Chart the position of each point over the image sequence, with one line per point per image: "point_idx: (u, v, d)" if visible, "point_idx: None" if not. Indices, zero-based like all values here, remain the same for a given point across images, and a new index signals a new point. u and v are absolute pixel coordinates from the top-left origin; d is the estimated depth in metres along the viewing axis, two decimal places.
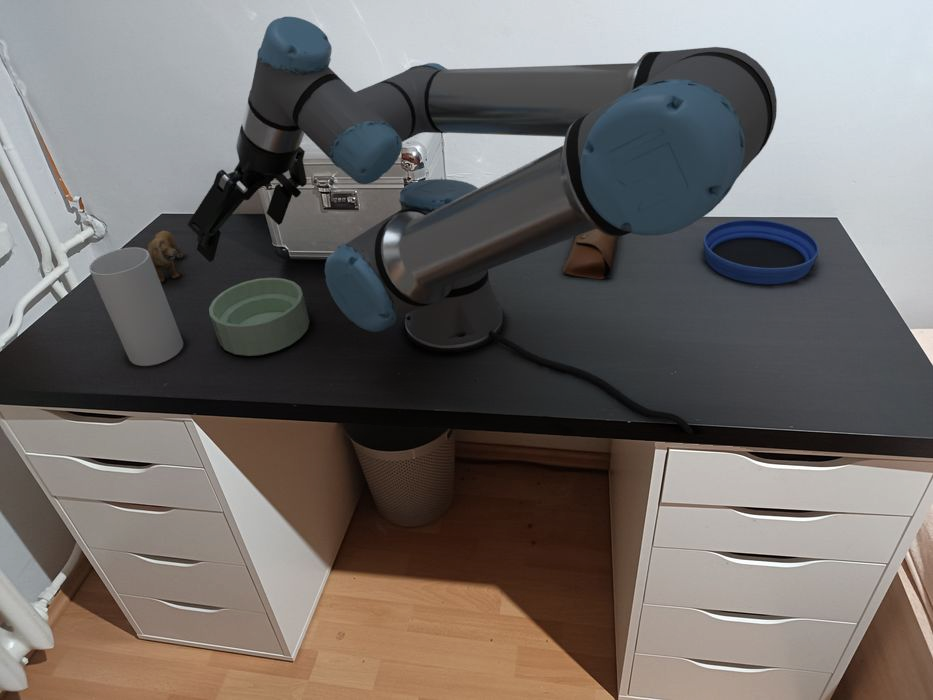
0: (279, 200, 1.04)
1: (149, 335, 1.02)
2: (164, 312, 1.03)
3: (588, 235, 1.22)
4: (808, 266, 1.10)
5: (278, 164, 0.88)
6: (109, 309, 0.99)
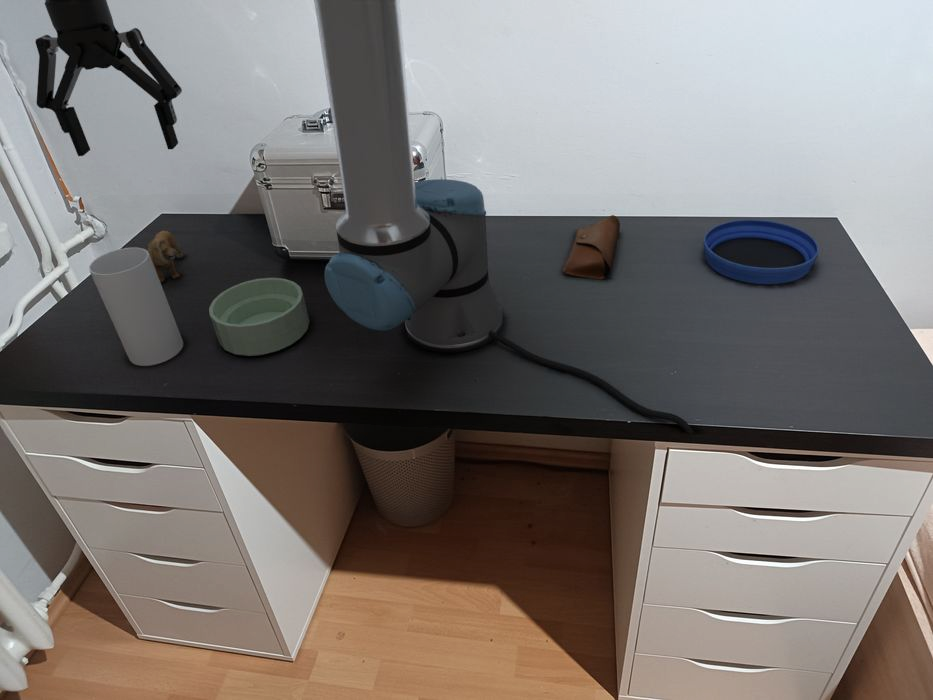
0: None
1: (149, 335, 1.02)
2: (164, 312, 1.03)
3: (588, 235, 1.22)
4: (808, 266, 1.10)
5: (54, 12, 0.90)
6: (109, 309, 0.99)
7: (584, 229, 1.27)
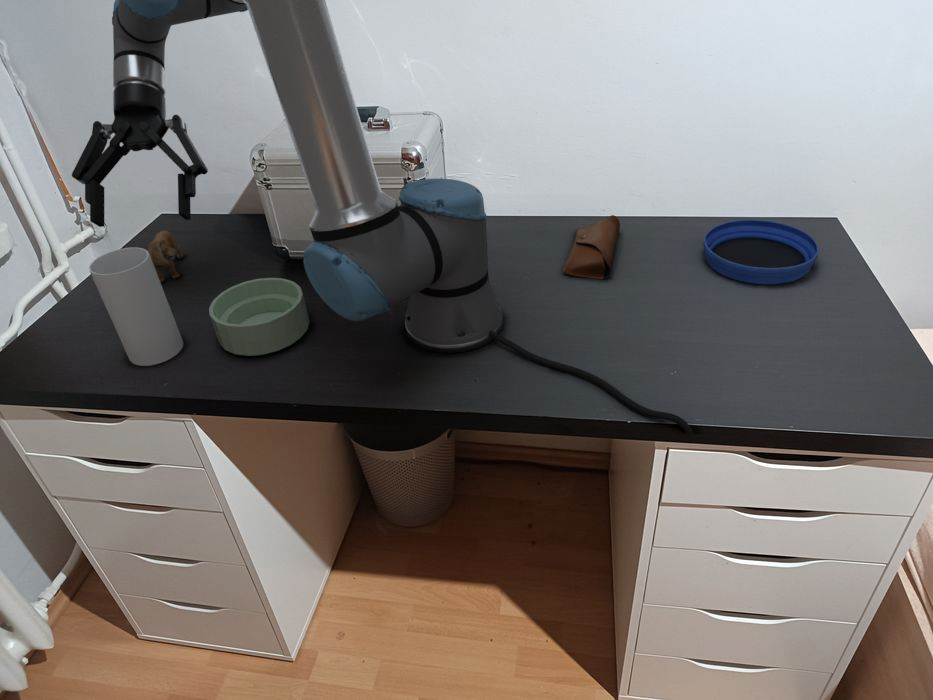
0: None
1: (149, 335, 1.02)
2: (164, 312, 1.03)
3: (588, 235, 1.22)
4: (808, 266, 1.10)
5: (118, 91, 1.05)
6: (109, 309, 0.99)
7: (584, 229, 1.27)
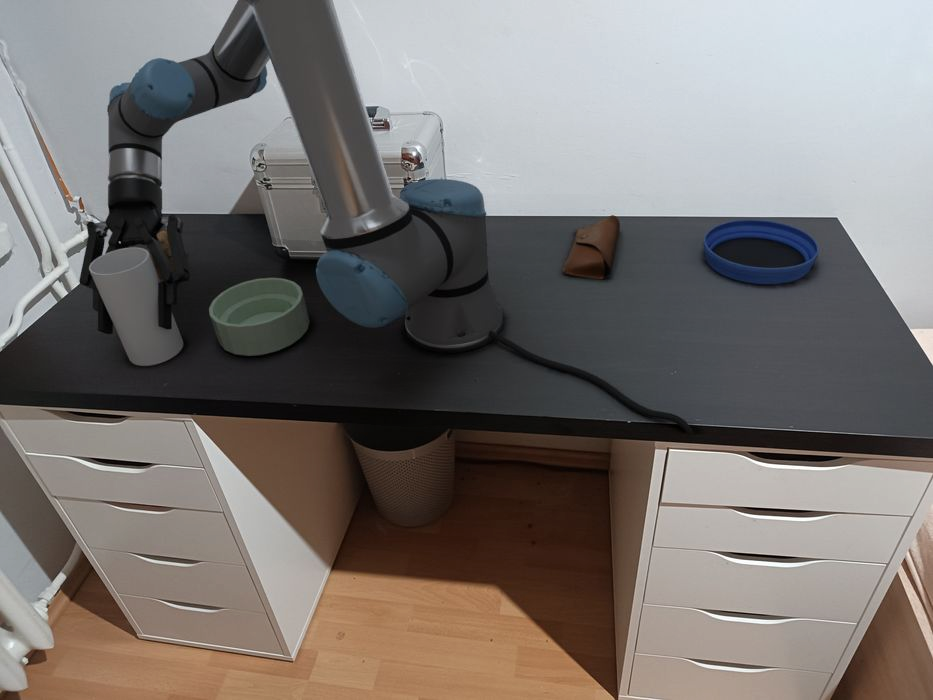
0: None
1: (149, 335, 1.02)
2: None
3: (588, 235, 1.22)
4: (808, 266, 1.10)
5: (113, 187, 1.01)
6: (109, 309, 0.99)
7: (584, 229, 1.27)
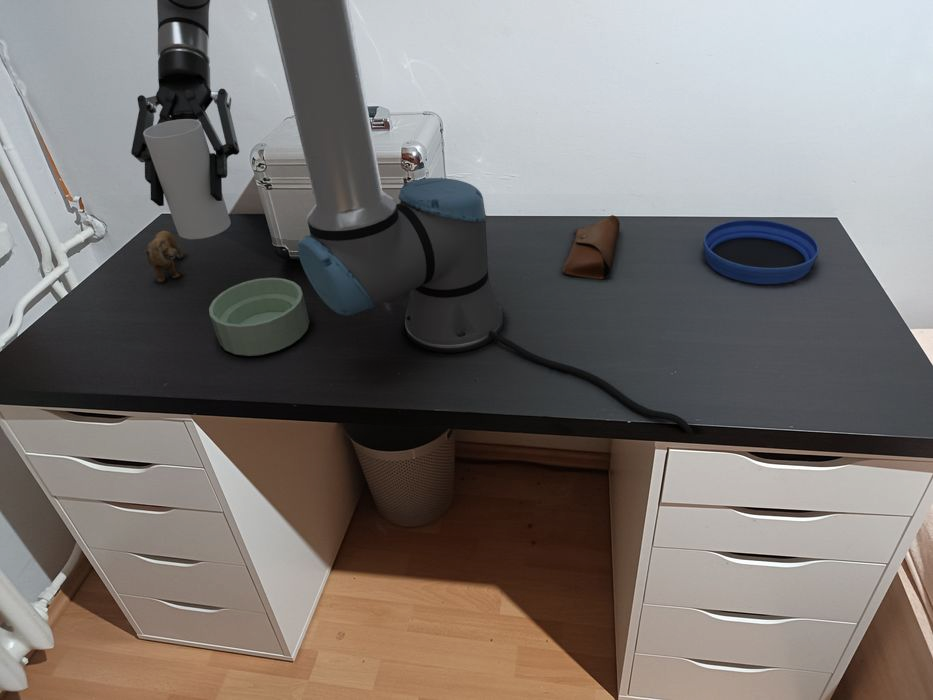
0: None
1: (200, 205, 1.03)
2: None
3: (588, 235, 1.22)
4: (808, 266, 1.10)
5: (164, 59, 1.03)
6: (162, 177, 1.01)
7: (584, 229, 1.27)
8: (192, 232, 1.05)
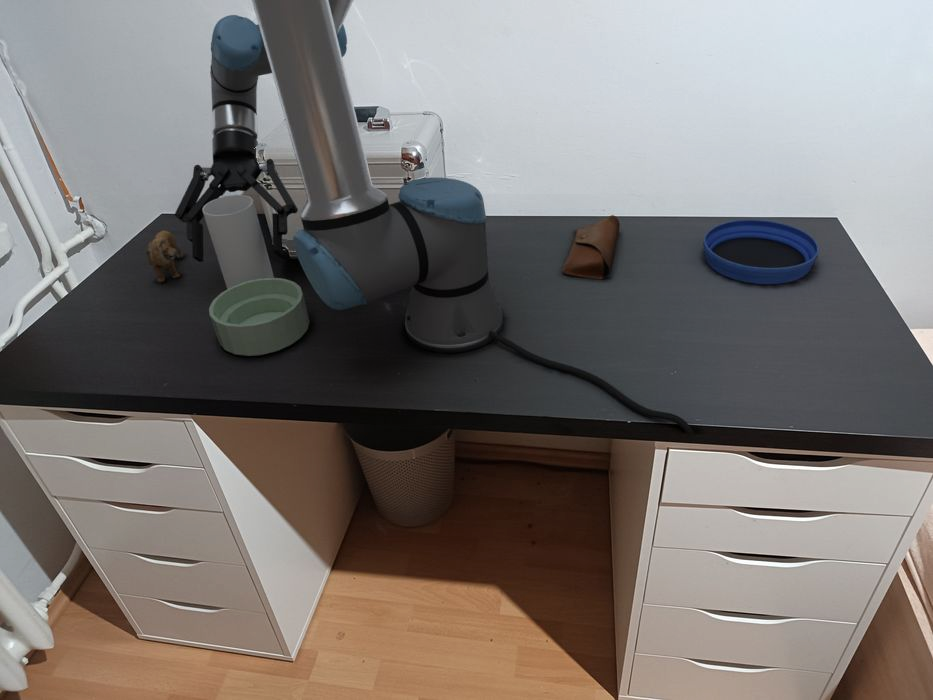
0: None
1: (251, 272, 1.16)
2: (263, 252, 1.17)
3: (587, 235, 1.22)
4: (808, 266, 1.10)
5: (218, 138, 1.15)
6: (218, 248, 1.13)
7: (584, 229, 1.27)
8: None
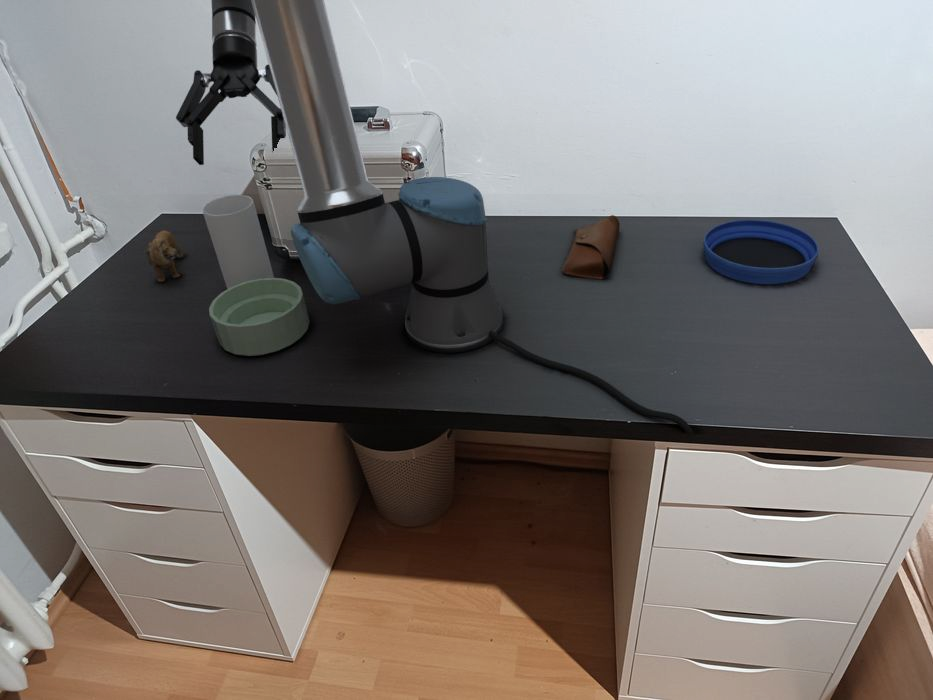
0: None
1: (251, 272, 1.16)
2: (263, 252, 1.17)
3: (587, 235, 1.22)
4: (808, 266, 1.10)
5: (218, 43, 1.18)
6: (218, 248, 1.13)
7: (584, 229, 1.27)
8: None
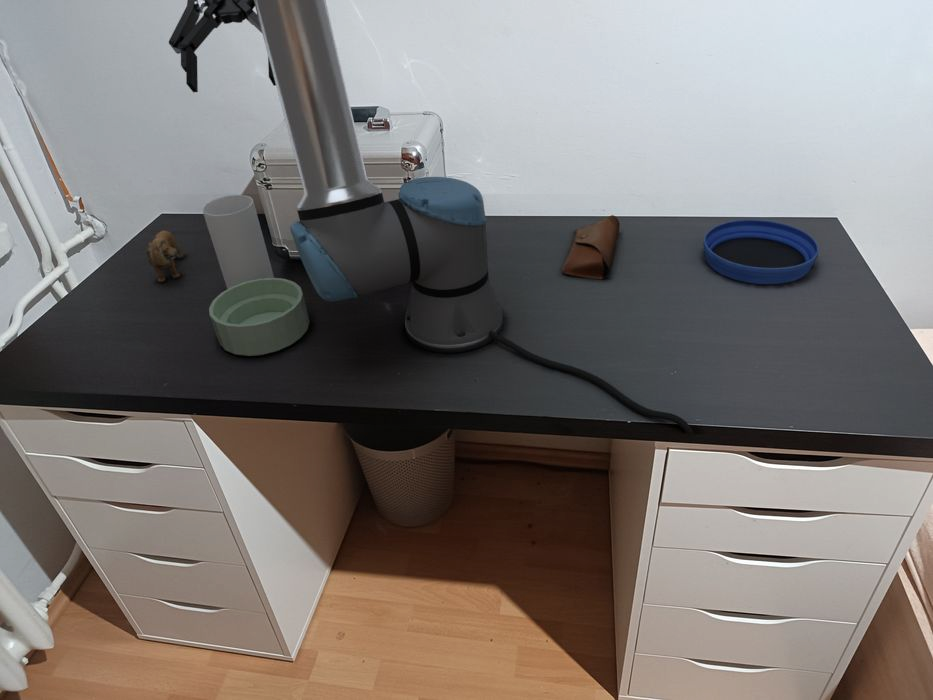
0: None
1: (251, 272, 1.16)
2: (263, 252, 1.17)
3: (587, 235, 1.22)
4: (808, 266, 1.10)
5: None
6: (218, 248, 1.13)
7: (584, 229, 1.27)
8: None
